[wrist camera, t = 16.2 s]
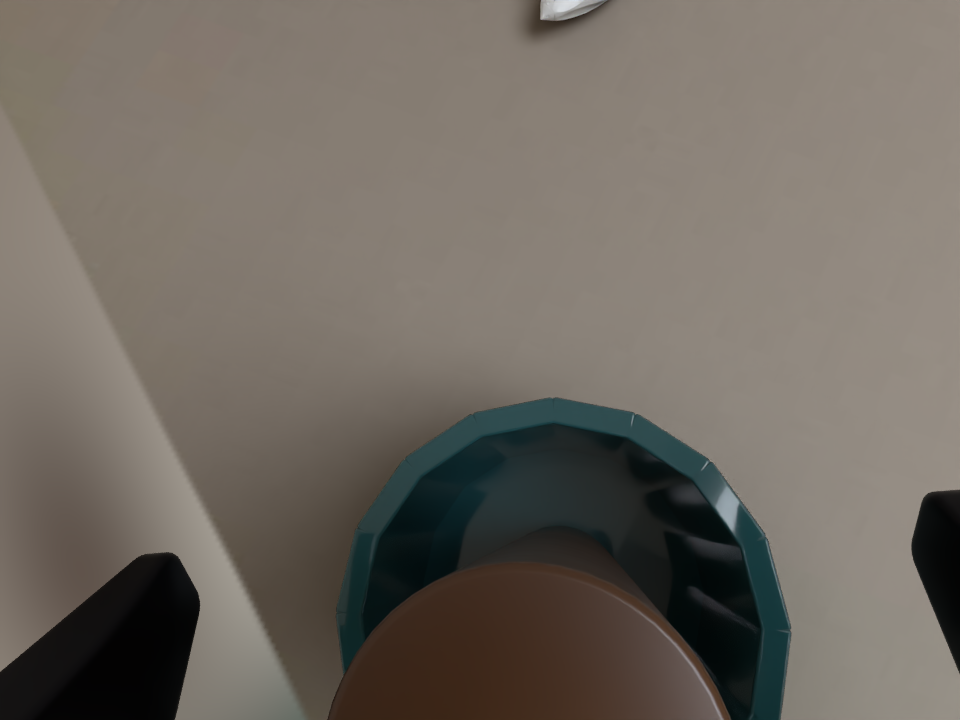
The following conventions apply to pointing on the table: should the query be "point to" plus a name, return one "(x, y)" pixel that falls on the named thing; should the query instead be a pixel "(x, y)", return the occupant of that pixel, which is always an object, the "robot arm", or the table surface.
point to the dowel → (529, 645)
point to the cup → (591, 509)
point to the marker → (566, 8)
